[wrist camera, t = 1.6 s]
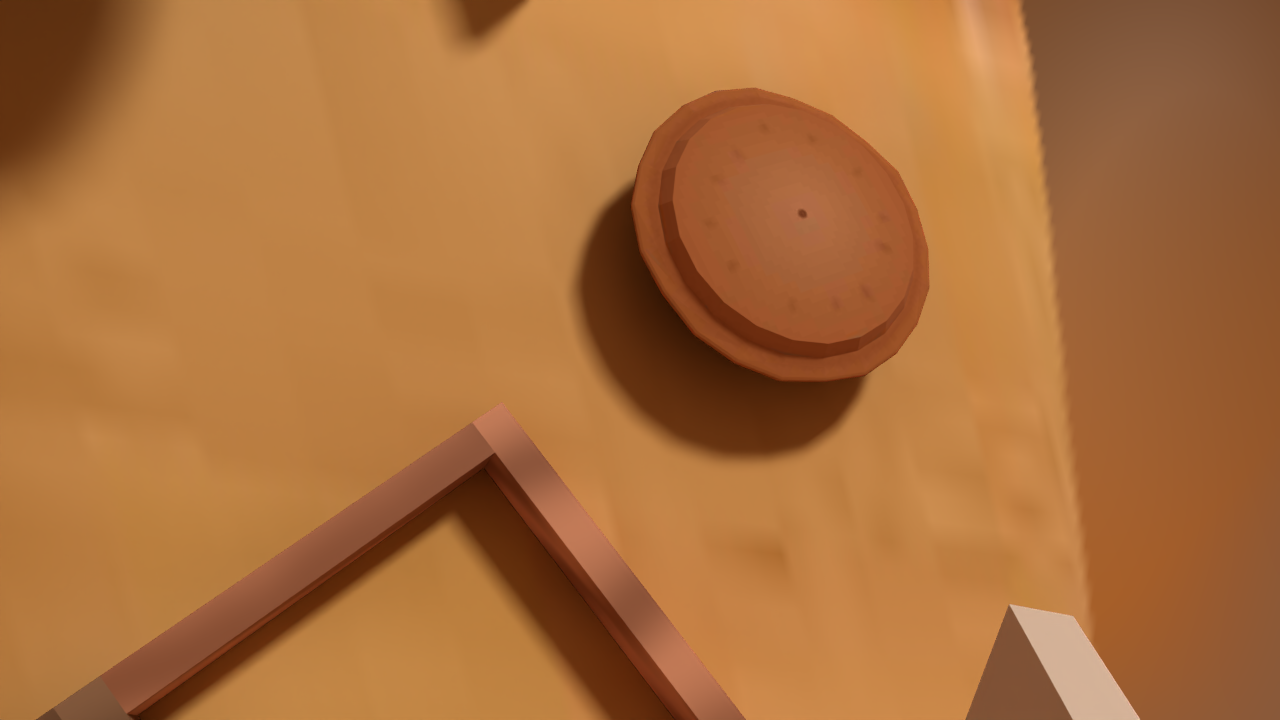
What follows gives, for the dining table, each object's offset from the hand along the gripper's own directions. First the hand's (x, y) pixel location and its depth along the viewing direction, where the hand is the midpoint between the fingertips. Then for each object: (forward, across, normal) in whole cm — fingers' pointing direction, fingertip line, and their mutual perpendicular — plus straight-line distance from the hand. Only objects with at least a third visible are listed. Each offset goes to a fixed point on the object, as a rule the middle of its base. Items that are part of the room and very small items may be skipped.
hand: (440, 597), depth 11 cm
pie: (+38, +7, -4) cm, 39 cm away
